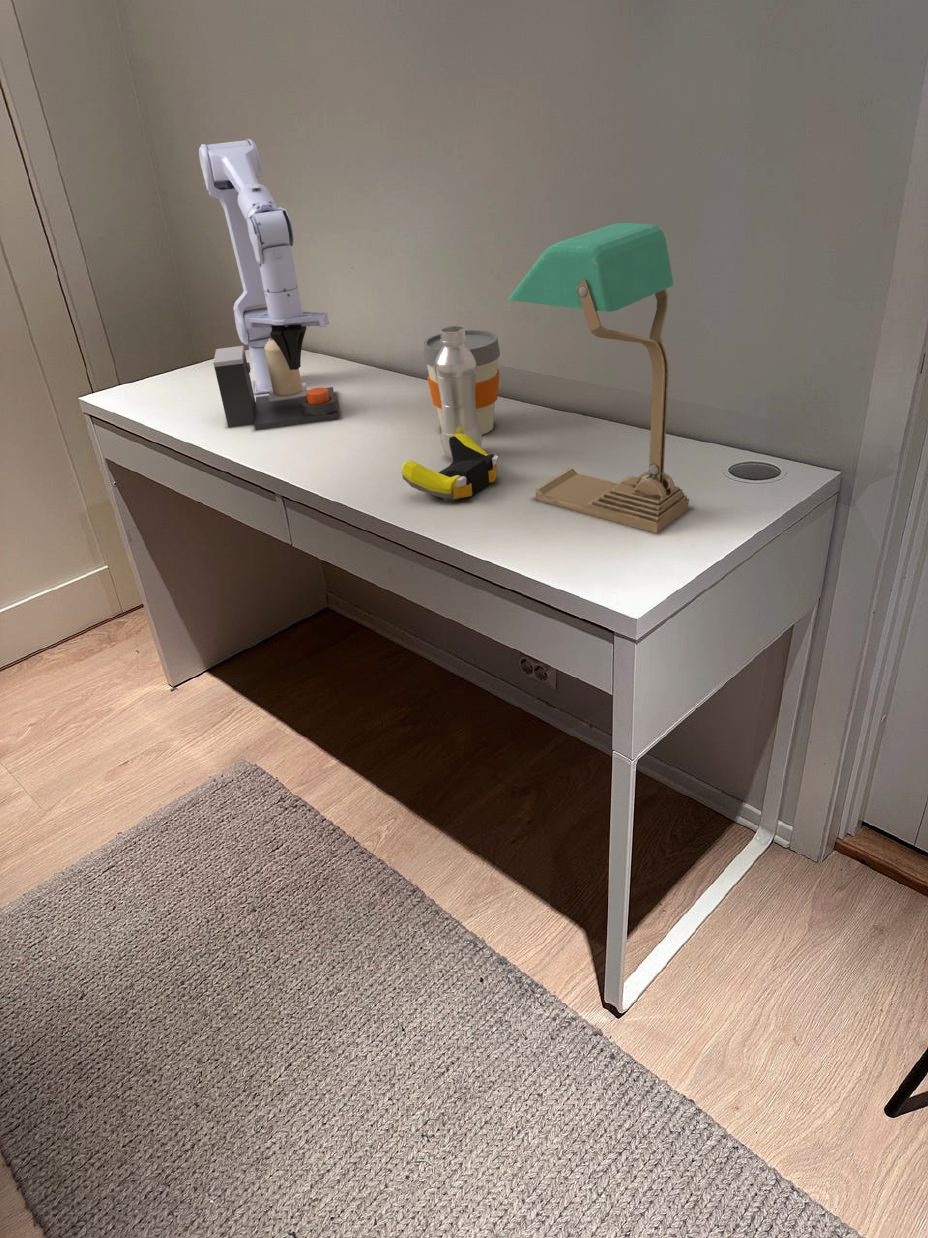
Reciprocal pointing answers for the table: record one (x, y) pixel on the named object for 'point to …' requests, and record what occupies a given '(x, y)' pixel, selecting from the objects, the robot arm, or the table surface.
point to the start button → (317, 395)
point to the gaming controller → (454, 471)
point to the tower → (240, 386)
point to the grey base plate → (293, 411)
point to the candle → (281, 371)
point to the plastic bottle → (456, 387)
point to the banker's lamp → (607, 281)
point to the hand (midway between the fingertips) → (295, 368)
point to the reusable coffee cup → (486, 373)
